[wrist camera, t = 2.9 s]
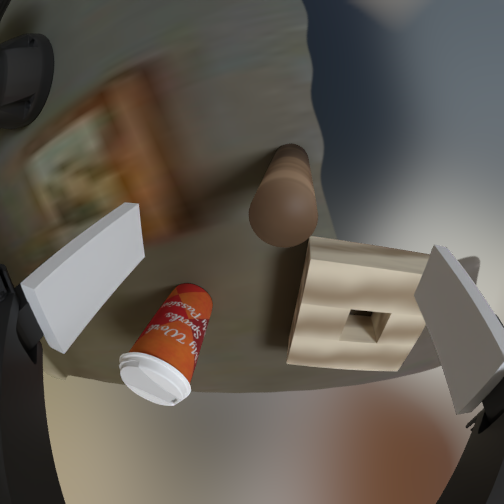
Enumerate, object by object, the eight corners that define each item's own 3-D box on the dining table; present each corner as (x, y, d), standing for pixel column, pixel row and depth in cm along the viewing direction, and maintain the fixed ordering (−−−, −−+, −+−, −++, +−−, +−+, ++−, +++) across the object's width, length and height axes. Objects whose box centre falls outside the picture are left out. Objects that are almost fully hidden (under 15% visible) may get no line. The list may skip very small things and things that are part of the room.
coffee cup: (232, 300, 37) (200, 395, 24) (202, 330, 41) (169, 414, 28) (179, 264, 35) (124, 350, 23) (156, 299, 39) (107, 378, 27)
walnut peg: (275, 141, 26) (251, 179, 13) (310, 146, 26) (323, 188, 13) (272, 175, 28) (246, 242, 15) (306, 179, 28) (311, 251, 15)
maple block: (309, 235, 31) (310, 258, 26) (433, 255, 29) (449, 277, 25) (288, 336, 39) (286, 363, 34) (391, 345, 37) (397, 371, 33)
